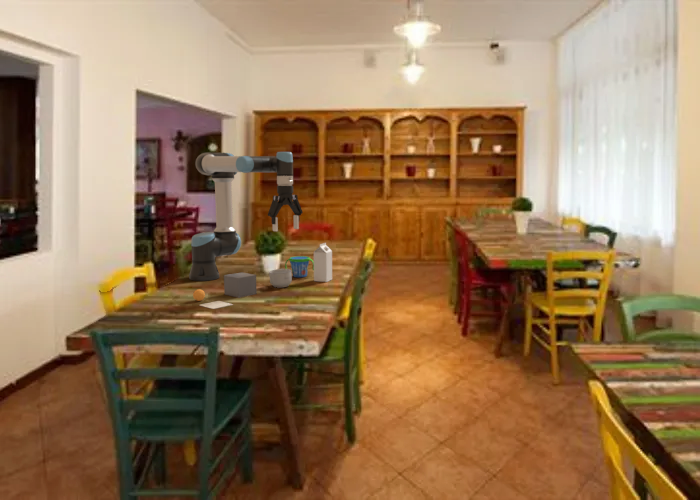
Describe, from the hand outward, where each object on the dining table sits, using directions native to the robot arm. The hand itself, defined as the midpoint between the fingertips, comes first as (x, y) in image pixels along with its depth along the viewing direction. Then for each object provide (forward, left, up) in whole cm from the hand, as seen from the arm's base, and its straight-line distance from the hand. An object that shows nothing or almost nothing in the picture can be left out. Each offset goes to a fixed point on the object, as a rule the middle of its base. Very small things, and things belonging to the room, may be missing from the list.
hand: (285, 230), depth 276 cm
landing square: (+5, -45, -28) cm, 53 cm away
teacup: (-4, 0, -28) cm, 28 cm away
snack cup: (-15, +23, -28) cm, 39 cm away
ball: (-7, -45, -25) cm, 52 cm away
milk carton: (+2, +23, -28) cm, 36 cm away
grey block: (-4, -25, -28) cm, 37 cm away
